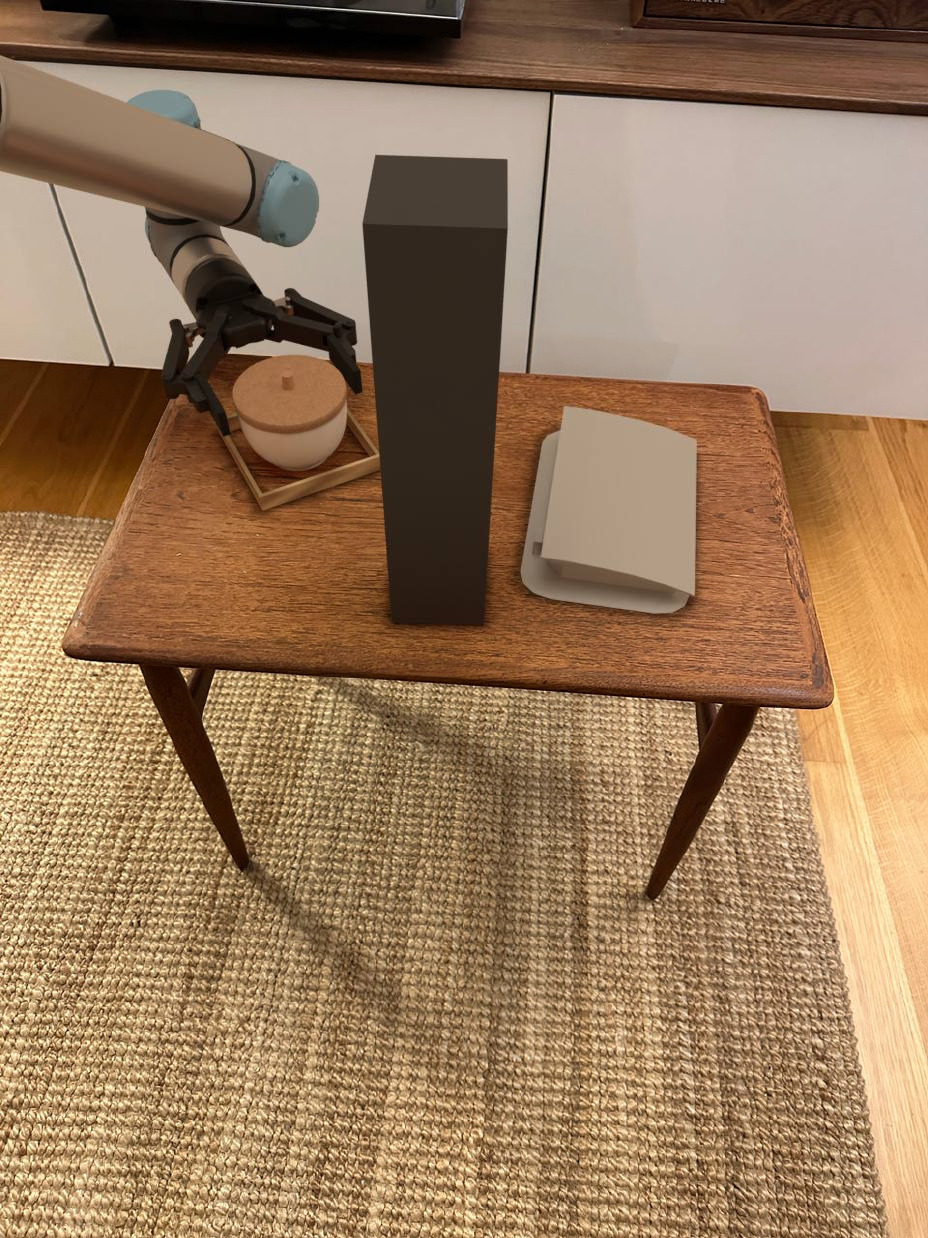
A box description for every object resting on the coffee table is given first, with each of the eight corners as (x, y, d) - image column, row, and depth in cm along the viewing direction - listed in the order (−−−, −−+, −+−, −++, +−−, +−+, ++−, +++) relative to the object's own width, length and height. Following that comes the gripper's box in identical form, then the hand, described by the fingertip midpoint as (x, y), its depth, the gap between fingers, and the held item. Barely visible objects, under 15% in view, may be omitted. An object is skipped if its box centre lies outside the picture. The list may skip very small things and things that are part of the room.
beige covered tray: (516, 594, 80) (519, 565, 77) (545, 426, 94) (548, 396, 91) (690, 618, 79) (700, 590, 76) (693, 445, 93) (701, 414, 90)
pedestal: (391, 622, 78) (362, 223, 49) (398, 554, 83) (375, 154, 54) (484, 626, 78) (507, 227, 49) (485, 556, 83) (507, 158, 54)
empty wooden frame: (262, 510, 86) (259, 497, 84) (219, 432, 93) (215, 419, 91) (382, 469, 90) (381, 455, 88) (332, 397, 96) (330, 383, 95)
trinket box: (358, 418, 94) (351, 341, 87) (345, 490, 88) (336, 413, 80) (256, 414, 94) (240, 336, 87) (236, 485, 88) (217, 408, 80)
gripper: (328, 291, 104) (411, 396, 93) (113, 351, 96) (174, 473, 85) (321, 229, 98) (408, 333, 87) (91, 288, 90) (154, 410, 79)
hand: (293, 403), depth 86 cm, fingers open, 13 cm apart
